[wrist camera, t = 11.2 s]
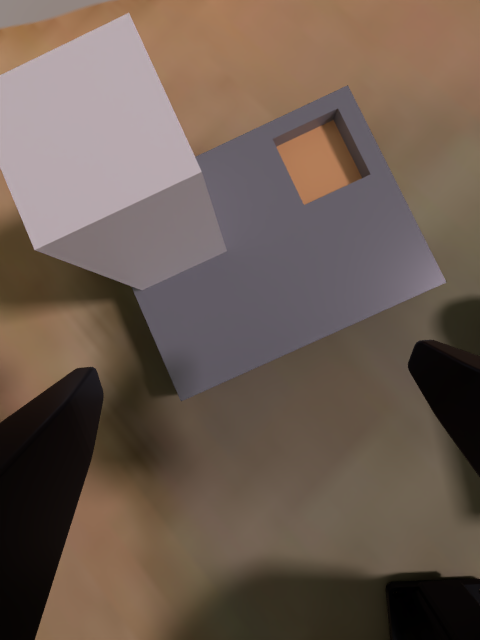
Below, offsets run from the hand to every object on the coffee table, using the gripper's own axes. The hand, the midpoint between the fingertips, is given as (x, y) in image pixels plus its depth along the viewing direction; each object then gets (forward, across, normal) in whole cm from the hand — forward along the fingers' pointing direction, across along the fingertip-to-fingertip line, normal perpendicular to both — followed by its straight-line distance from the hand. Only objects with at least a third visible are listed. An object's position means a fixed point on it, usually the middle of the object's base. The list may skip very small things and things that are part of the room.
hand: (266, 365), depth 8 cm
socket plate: (+14, -3, +1) cm, 14 cm away
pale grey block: (+15, +3, 0) cm, 15 cm away
